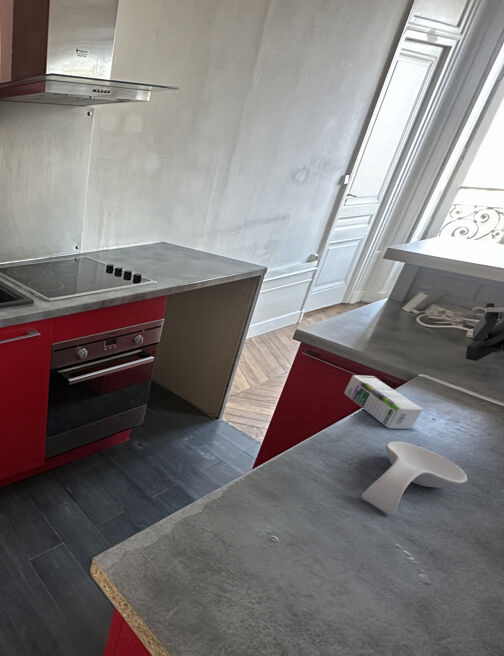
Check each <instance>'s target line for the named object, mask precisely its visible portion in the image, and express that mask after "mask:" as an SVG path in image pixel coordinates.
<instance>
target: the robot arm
mask: <svg viewBox="0 0 504 656" xmlns="http://www.w3.org/2000/svg"><path fill="white" fill-rule="evenodd" d="M484 309H485V312H484V313H483V315H482V316H481V318H480V319H479V320H478V322H477V323H476V324H475V326H474V327H473V330H472V340H471V344H469V345H467V346H466V354H465V360H469V361H474V362H477V361H479V360H481V359H483V358H486V357H487V356H489V355H491V354H493V353H494V354H499V353H500V352H503V353H504V320H502V318H504V306H498V304H497V303H494V302H490V303H489V302H488V303H486V304H485V308H484ZM500 321H501V322H500ZM498 322H499V323H498Z"/></svg>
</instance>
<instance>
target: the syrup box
mask: <svg viewBox="0 0 504 656" xmlns="http://www.w3.org/2000/svg"><path fill="white" fill-rule="evenodd" d="M343 394H344V395H345V396H346V397H347V398H349V399H350V400H351V401H353V402H354V403H355V404H357V405H358V406H359V407H360V408H362V409H363V410H364V411H366V412H367V413H368V414H369V415H370V416H372V417H374V418H375V419H376V420H377V421H379V423H381V424H382V425H383V426H385V427H386V428H387V429H396V430H397V429H400V430H401V429H402V430H403V429H404V430H408V429H409V430H411V429H412V428H413V426H415V423H416V421H417V420H418V418H419V417H420V415H421V413H422V412H423V408H422V407H420V406H418V405H417V404H416V403H414V402H412V401H411V400H410V399H408V398H406V397H405V396H404V395H402V394H401V393H399V392H398V391H396V390H395V389H394V388H391V387H390V386H389V385H387V384H386V383H385V382H383V381H381V379H379V378H377V377H376V376H374V375H363V374H361V375H360V374H359V375H357V374H356V375H351V378H350V380H349V382H348V384H347V386H346V388H345V390H344V392H343Z"/></svg>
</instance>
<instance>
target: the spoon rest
mask: <svg viewBox="0 0 504 656" xmlns="http://www.w3.org/2000/svg"><path fill="white" fill-rule="evenodd" d="M385 452H386V455H387V458H388V460H389V462H390V464H391V466H389V468H388V469H387V470H386V471H385V472H384V473H383V474H382V475H381V476H380V477H379V478H377V479H376V480H375V481H374V482H373V483H372V484H370V485H369V486H368V487H367V489H366V490H364V491H363V493H362V494H361V495H360V496H361V497H360V498H361V499H362V500H364V501H365V502H367V503H369V504H371V506H374V507H375V508H377V509H379V510H381V511H382V512H384V513H385V514H387V515H390V516H394V514H395V512H396V510H397V508H398V506H399V503H400V501H401V499H402V496H403V494H404V492H405V490H406V489H407V488H408V487H409V485H410V484H411V483H413V484H414V485H418V486H422V487H426V488H437V489H447V488H455V487H459V486H461V485H463V484H465V483H466V482H467V481H468V477H467V474H466V472H465V471H464V470H463V469H462V468H461V467H460V466H458V465H457V464H456V463H454V462H453V461H451V460H450V459H448V458H446V457H445V456H443V455H440V454H438V453H435V452H434V451H431V450H429V449H427V448H426V447H422V446H419V445H416V444H413V443H410V442H406V441H405V442H404V441H398V440H397V441H396V440H395V441H389V442H387V443H386V445H385Z"/></svg>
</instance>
